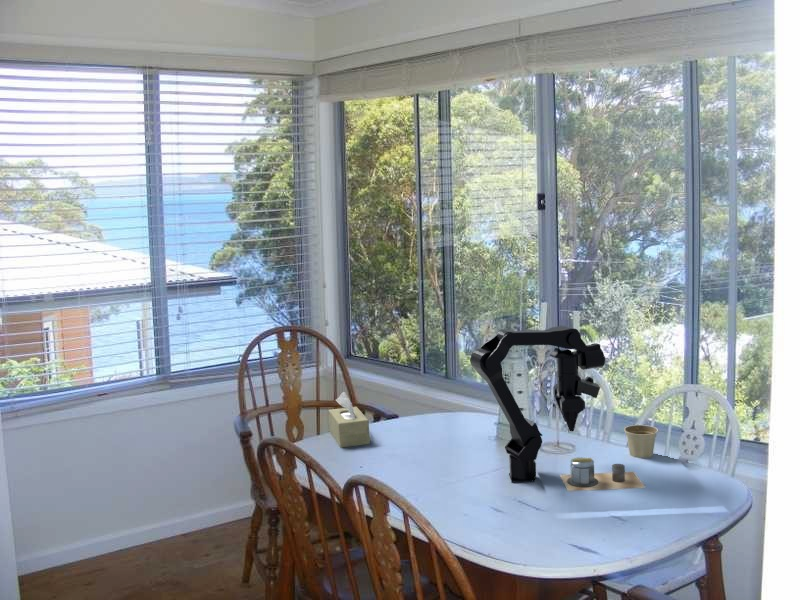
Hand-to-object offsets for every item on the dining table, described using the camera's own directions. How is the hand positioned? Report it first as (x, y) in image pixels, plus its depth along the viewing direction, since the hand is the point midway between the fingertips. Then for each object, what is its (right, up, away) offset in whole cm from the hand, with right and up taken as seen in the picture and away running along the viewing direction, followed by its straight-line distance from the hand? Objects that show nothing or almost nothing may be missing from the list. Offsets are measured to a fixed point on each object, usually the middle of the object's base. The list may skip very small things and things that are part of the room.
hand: (569, 426), depth 232 cm
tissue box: (-64, -11, +43) cm, 78 cm away
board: (+6, -14, -11) cm, 19 cm away
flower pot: (+22, -11, +8) cm, 26 cm away
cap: (+1, -13, -12) cm, 17 cm away
